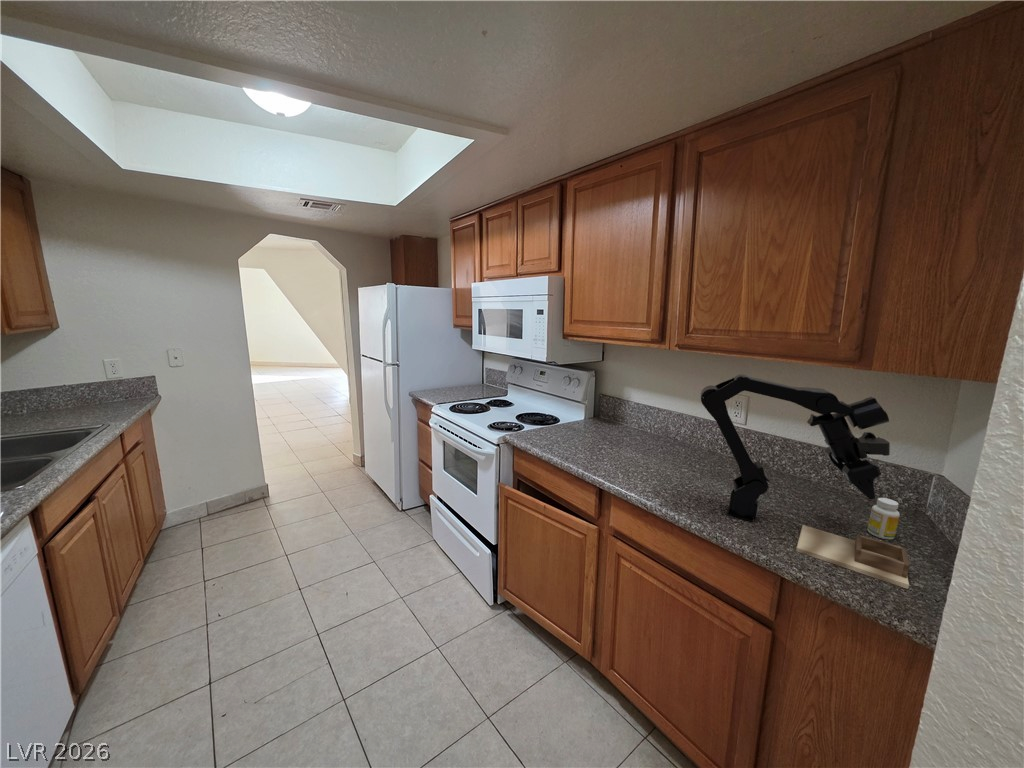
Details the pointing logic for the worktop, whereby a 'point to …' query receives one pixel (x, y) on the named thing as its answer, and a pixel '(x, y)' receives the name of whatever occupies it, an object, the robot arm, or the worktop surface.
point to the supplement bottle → (884, 519)
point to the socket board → (857, 554)
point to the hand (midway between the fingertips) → (864, 491)
